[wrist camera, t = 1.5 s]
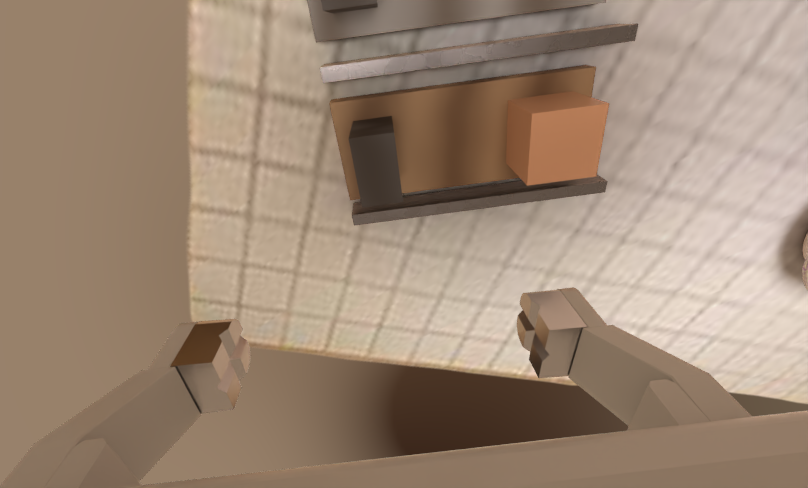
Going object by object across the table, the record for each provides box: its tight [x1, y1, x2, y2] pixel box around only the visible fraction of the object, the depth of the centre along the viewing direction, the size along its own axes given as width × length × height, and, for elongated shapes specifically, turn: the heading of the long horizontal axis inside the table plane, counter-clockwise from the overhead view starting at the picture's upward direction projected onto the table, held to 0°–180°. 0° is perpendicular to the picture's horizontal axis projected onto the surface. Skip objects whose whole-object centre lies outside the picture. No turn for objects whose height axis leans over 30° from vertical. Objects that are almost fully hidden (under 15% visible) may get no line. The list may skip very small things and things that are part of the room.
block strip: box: [329, 65, 596, 208], centre depth 27 cm, size 20×8×6 cm, turn 97°
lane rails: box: [320, 24, 638, 225], centre depth 26 cm, size 22×24×2 cm
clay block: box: [506, 91, 609, 186], centre depth 26 cm, size 5×5×5 cm
